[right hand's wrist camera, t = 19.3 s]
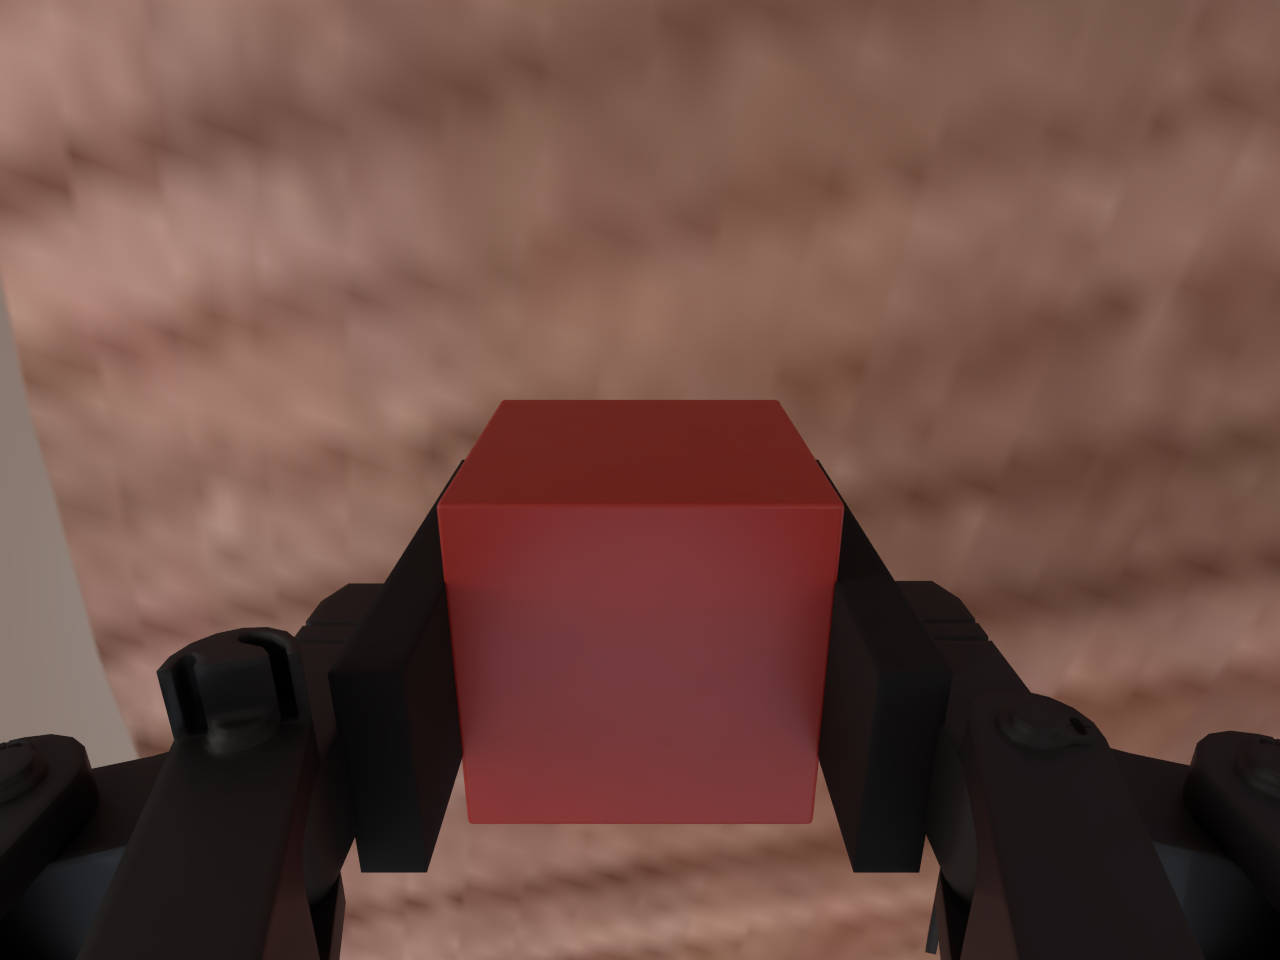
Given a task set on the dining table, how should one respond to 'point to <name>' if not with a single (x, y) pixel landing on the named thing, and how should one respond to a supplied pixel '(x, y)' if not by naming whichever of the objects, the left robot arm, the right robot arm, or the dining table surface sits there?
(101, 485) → the dining table surface
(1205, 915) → the right robot arm
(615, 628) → the block
